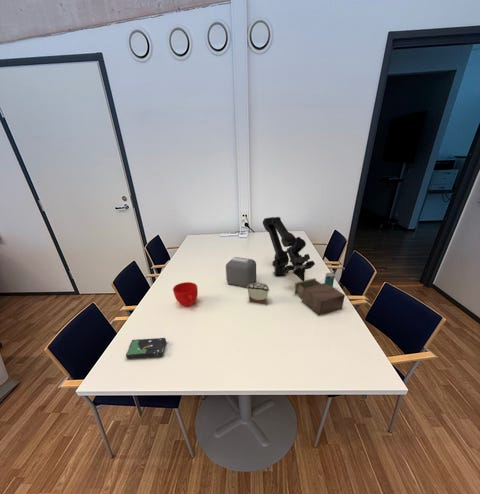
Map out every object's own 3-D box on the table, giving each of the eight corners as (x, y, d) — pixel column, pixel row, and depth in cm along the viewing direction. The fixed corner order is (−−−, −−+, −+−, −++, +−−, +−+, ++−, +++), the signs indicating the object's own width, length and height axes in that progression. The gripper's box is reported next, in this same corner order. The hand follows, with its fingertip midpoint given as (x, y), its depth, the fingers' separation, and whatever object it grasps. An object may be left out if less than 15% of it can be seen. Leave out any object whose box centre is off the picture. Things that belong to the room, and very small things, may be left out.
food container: (271, 299, 148) (271, 283, 142) (268, 305, 143) (269, 288, 138) (250, 296, 152) (250, 281, 146) (247, 302, 147) (246, 285, 141)
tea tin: (325, 292, 153) (327, 276, 147) (321, 288, 157) (324, 273, 151) (333, 291, 153) (336, 275, 148) (329, 287, 157) (332, 272, 152)
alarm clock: (256, 281, 168) (256, 258, 159) (249, 289, 159) (248, 264, 151) (233, 277, 174) (232, 254, 165) (225, 284, 165) (223, 261, 156)
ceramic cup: (182, 315, 138) (179, 298, 132) (173, 301, 150) (170, 285, 145) (205, 308, 142) (203, 292, 137) (194, 295, 155) (192, 280, 149)
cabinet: (301, 301, 145) (303, 288, 140) (323, 296, 149) (325, 282, 145) (318, 315, 133) (321, 301, 128) (341, 309, 137) (344, 294, 133)
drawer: (290, 290, 154) (291, 280, 151) (309, 286, 158) (310, 275, 155) (308, 305, 140) (310, 294, 136) (329, 299, 144) (331, 288, 140)
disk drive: (166, 342, 120) (133, 344, 119) (165, 337, 118) (131, 339, 117) (162, 357, 111) (126, 359, 110) (161, 352, 110) (125, 354, 109)
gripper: (286, 252, 143) (295, 278, 141) (315, 246, 149) (324, 272, 146) (278, 261, 154) (287, 286, 151) (305, 256, 159) (314, 279, 157)
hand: (303, 280), depth 151 cm, fingers closed
